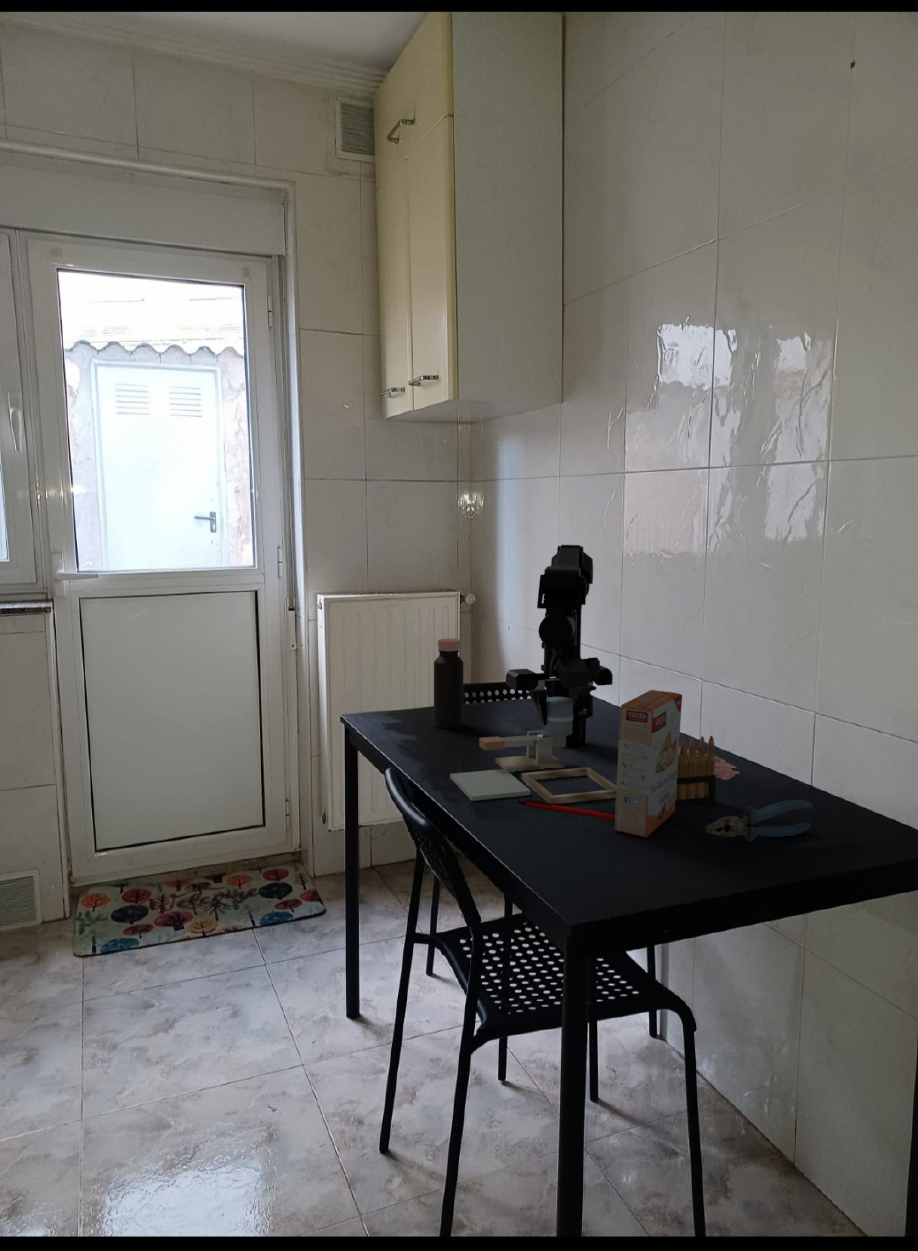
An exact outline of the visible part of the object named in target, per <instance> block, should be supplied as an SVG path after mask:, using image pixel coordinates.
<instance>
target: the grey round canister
mask: <svg viewBox="0 0 918 1251" xmlns="http://www.w3.org/2000/svg"><path fill="white" fill-rule="evenodd" d="M546 700H547V723H546V726H544V729H543V730H544V732H545V733H546V734H548V735H552V736H568V735H571V734H572V722H573V700H572V699H570V698H566V697H550V696H549V697H547V699H546Z"/></svg>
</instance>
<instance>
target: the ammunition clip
mask: <svg viewBox="0 0 918 1251" xmlns="http://www.w3.org/2000/svg"><path fill="white" fill-rule="evenodd" d="M679 747H680V755H679V759H678V770H677V786H676V801H675V808H676V807H687V806H697V805H708V804H709V805H710V804H715V803H716V785H717V784H716V780H717V778H716V775H714V771H715V757H714V756H715V741H714V737H713V735H710V736H709V738H708V742H707V749H706V743H705V738H704V736H703V735H702V736H701V737H700V739H699V741H698V746H697V743H696V739H695V737H694V736H692V737H691V740H690V742H689V748H688V744H687V740H686V737H683V738H682V740H681V742H680V746H679ZM687 749H689V755H688V760H687ZM696 751H698V755H697V760H696ZM705 753H706V754H707V755H706V758H705Z"/></svg>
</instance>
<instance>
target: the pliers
mask: <svg viewBox="0 0 918 1251" xmlns="http://www.w3.org/2000/svg"><path fill="white" fill-rule="evenodd" d="M813 806H814V805H813V804H812V802H809V801H808V800H805V799H804V800H803V799H791V800H783V801H779V802H776V803H772V804H769V805H767V806H764V807H762V808H759V809H755V807H753V806H751V805H748V806H746V807H745V808H744V810H743V813H742V814H739V815H730V816H728V815H727V816H724V817H720V818H718V819H717V820H714V821H712V822H711V823H708V824H707V825H705V826H704V831H705V832H706V833H708V834H710V835H714V836H719V837H721V838H733V837H737V836H739V835H741V836H743V839H745V841H746V842H753V841H755V839H756V838H757V836H761V837H770V838H771V837H772V838H785V837H784V836H788V837H792V836H797V835H799V834H802V833H805V832H807V831H809V830H810V829H811V823H810V822H801V823H797V824H792V825H785V826H783V825H782V826H781V825H780V826H777V825H768V824H761V823H760V822H763V821H766V820H768V819H771V818H774V817H777V816H779V815H782V814H783V813H784V814H785V813H787V812H792V811H809V810H812V809H813ZM759 823H760V824H759Z"/></svg>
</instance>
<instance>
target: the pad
mask: <svg viewBox="0 0 918 1251" xmlns="http://www.w3.org/2000/svg"><path fill="white" fill-rule="evenodd" d="M449 775H450V776H449V778H450V779H451V780H452V781H453V783H454V784H455V785H456V786H457V785H458V786H457V787H458V788H459V789H460V790H461V791H462V792H463V793H464V794H465V795H466V797H468V799H469V800H470V801H471V802H475V801H483V800H494V799H504V798H514V797H515V798H516V797H522V796H523V797H524V796H525V795H526V796H530V795H531V790H530V789H529V787H526V785H524V784H523V783H522V782H521V781H520V780H519V779H517V777H515V776H514V775H513V774H512V773H511V772H510V773H509V772H508V771H507V770H506V769H503V768H500V769H489V770H480V771H479V770H478V771H470V772H469V771H467V772H457V773H456V772H455V773H450V774H449ZM526 796H525V797H526Z"/></svg>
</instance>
